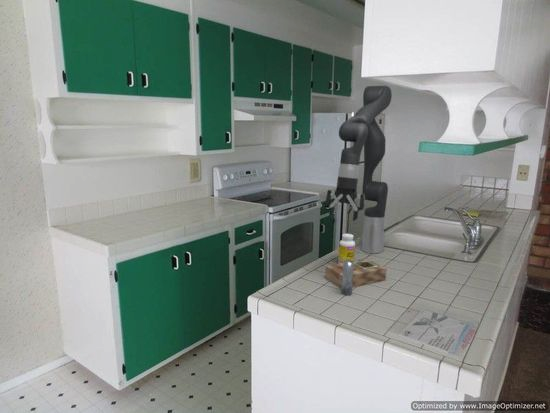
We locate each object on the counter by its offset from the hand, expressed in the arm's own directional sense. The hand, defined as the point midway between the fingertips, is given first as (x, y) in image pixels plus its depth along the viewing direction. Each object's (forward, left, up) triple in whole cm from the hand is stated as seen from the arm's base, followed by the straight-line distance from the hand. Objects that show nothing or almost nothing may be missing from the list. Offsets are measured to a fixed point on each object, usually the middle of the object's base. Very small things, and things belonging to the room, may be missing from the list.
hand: (342, 219), depth 150 cm
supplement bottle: (-12, -11, -24) cm, 29 cm away
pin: (+6, +13, -24) cm, 28 cm away
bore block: (-5, +4, -24) cm, 25 cm away
